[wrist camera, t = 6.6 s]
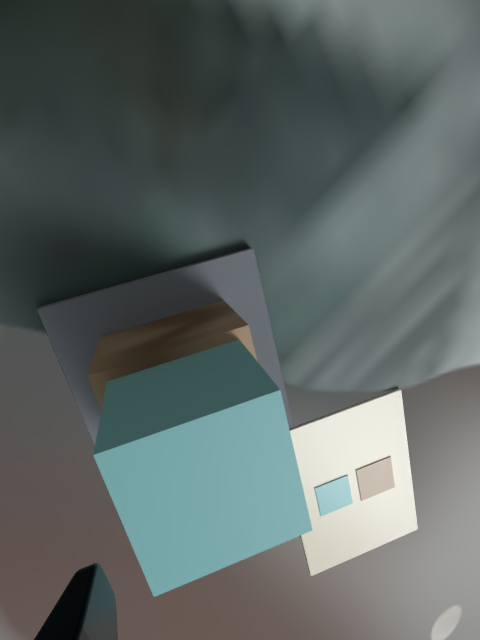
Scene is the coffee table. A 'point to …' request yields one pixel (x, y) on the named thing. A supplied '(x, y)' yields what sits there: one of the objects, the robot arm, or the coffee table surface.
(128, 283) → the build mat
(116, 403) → the teal brick
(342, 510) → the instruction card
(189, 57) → the coffee table surface
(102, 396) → the walnut brick
